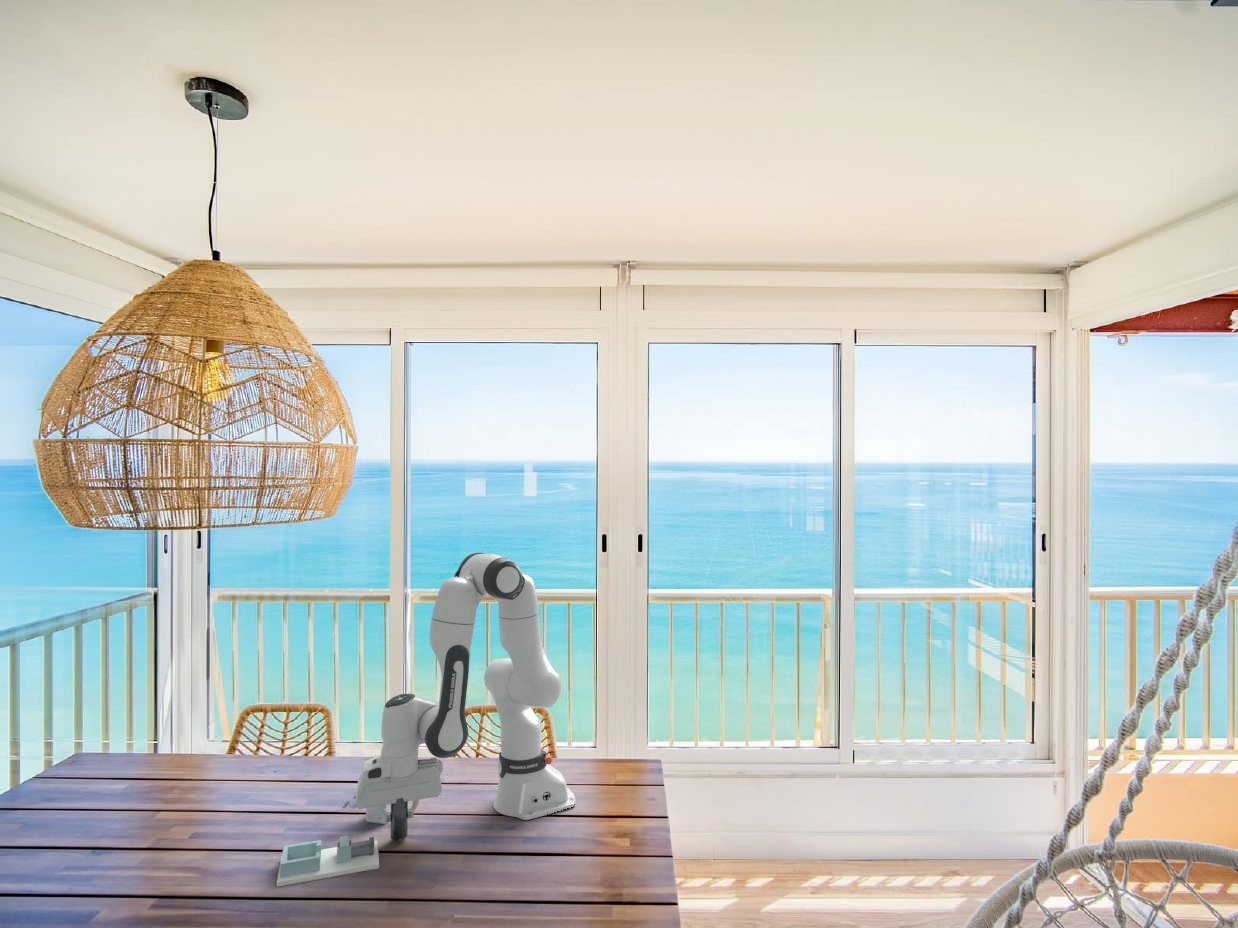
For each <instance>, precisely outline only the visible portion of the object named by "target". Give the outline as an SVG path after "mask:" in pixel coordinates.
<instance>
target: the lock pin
mask: <svg viewBox="0 0 1238 928" xmlns="http://www.w3.org/2000/svg"><path fill="white" fill-rule="evenodd" d="M374 841H375V836H371V837H369V838H368V839H367V840H362V841H356V842H355V841H354V842H351V843H349V846H351V857H352V856H357V855H363V854H369V855H373V854H374ZM336 845H337V844H336ZM336 847H337V848H340V845H337V846H336Z"/></svg>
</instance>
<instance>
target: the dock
mask: <svg viewBox="0 0 1238 928" xmlns="http://www.w3.org/2000/svg"><path fill="white" fill-rule="evenodd" d="M336 842H337V844H336V845H340V848H337V846H334V847H330V848H329V847H328V848H323V849H322V839H317V840H313V841H306V842H299V843H293V844H287V845H283V847H282V848H283V849H282V854H281V857H280V863H279V868H278V874H277V879H276V888H278V887H283V886H289V885H295V884H300V883H307V882H311V881H316V880H323V879H327V878H332V877H338V876H345V875H350V874H355V873H360V872H365V871H373V870H377V869H380V860H379V859H380V857H379V846H378V839H377V840H374V854H373V855H369V854H363V855H357V856H352V857H351V846H349V843H352V837H350V835H344V836H340V837H339V839H338V840H337V841H336Z"/></svg>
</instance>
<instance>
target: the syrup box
mask: <svg viewBox="0 0 1238 928" xmlns="http://www.w3.org/2000/svg"><path fill="white" fill-rule="evenodd" d="M365 810H366V811H365V812H366V813H365V821H366V822H367V823H373V824H383V825H386V824H387V822H385V820H384V815H383V813H382V812H381V810H380V806H376V807H370V808H365ZM386 811H387V812H391V804H388V805H386Z"/></svg>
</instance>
